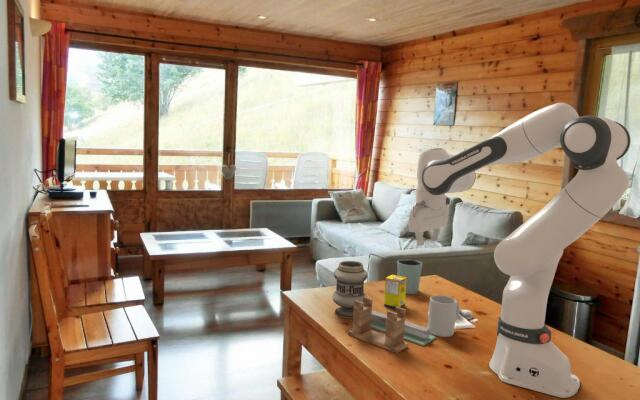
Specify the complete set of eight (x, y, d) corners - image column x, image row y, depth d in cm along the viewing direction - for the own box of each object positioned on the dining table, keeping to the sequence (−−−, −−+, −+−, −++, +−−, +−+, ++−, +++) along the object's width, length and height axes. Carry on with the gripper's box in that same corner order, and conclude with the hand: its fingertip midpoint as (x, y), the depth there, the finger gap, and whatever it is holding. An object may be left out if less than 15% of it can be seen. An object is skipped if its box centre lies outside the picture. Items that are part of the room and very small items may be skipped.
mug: (441, 339, 154) (444, 305, 152) (421, 329, 161) (424, 297, 159) (466, 332, 160) (469, 299, 159) (447, 323, 167) (449, 292, 166)
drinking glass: (395, 292, 197) (397, 263, 195) (395, 285, 206) (397, 257, 205) (420, 295, 195) (423, 266, 193) (419, 287, 205) (422, 259, 203)
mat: (435, 338, 154) (435, 336, 154) (423, 346, 148) (423, 344, 147) (372, 317, 169) (372, 315, 169) (358, 323, 163) (358, 321, 163)
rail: (429, 338, 152) (429, 328, 152) (424, 340, 150) (425, 331, 150) (370, 318, 166) (371, 309, 166) (365, 320, 164) (366, 312, 164)
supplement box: (405, 305, 183) (407, 277, 181) (398, 309, 178) (400, 280, 176) (390, 301, 186) (392, 273, 184) (383, 306, 181) (385, 277, 179)
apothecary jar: (325, 309, 174) (327, 260, 171) (353, 305, 180) (355, 257, 177) (343, 321, 163) (346, 269, 161) (372, 316, 170) (376, 266, 167)
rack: (407, 347, 146) (410, 310, 145) (397, 353, 142) (400, 315, 140) (359, 329, 158) (361, 295, 156) (347, 334, 153) (349, 299, 152)
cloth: (467, 334, 159) (469, 316, 158) (417, 318, 171) (418, 301, 170) (493, 317, 176) (495, 301, 175) (445, 303, 188) (447, 288, 187)
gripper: (423, 203, 144) (420, 249, 145) (453, 198, 159) (450, 240, 161) (404, 201, 148) (402, 246, 149) (435, 197, 163) (433, 237, 165)
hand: (427, 243), depth 155 cm, fingers open, 8 cm apart
